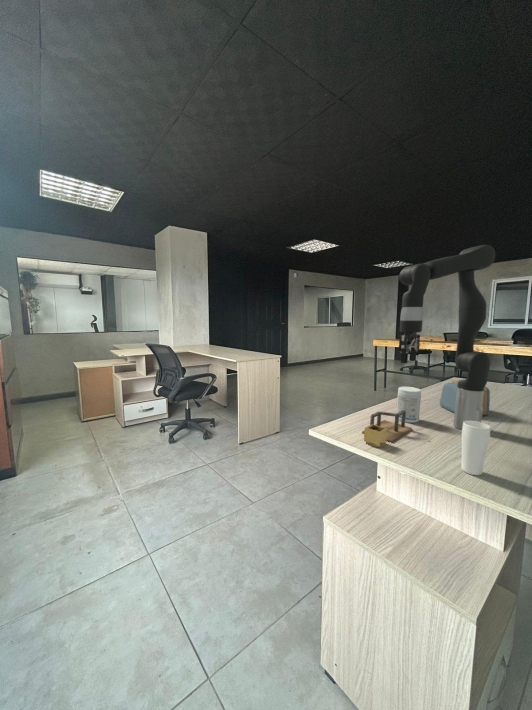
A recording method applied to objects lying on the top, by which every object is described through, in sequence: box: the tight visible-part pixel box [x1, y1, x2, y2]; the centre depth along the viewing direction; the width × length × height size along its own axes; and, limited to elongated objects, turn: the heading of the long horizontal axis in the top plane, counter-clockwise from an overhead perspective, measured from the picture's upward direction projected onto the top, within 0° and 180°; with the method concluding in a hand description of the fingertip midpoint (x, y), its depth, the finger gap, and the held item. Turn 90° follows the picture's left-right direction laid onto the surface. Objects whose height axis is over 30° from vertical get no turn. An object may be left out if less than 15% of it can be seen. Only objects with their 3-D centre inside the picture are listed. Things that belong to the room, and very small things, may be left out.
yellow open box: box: [363, 424, 388, 446], centre depth 105 cm, size 6×6×5 cm
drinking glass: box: [460, 421, 492, 476], centre depth 85 cm, size 7×7×15 cm
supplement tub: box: [396, 386, 422, 424], centre depth 130 cm, size 10×10×15 cm
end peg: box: [365, 430, 387, 448], centre depth 105 cm, size 7×7×5 cm
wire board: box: [361, 410, 413, 444], centre depth 116 cm, size 12×20×8 cm, turn 133°
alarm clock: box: [439, 379, 491, 416], centre depth 145 cm, size 16×16×16 cm
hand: (408, 362), depth 109 cm, fingers open, 8 cm apart
